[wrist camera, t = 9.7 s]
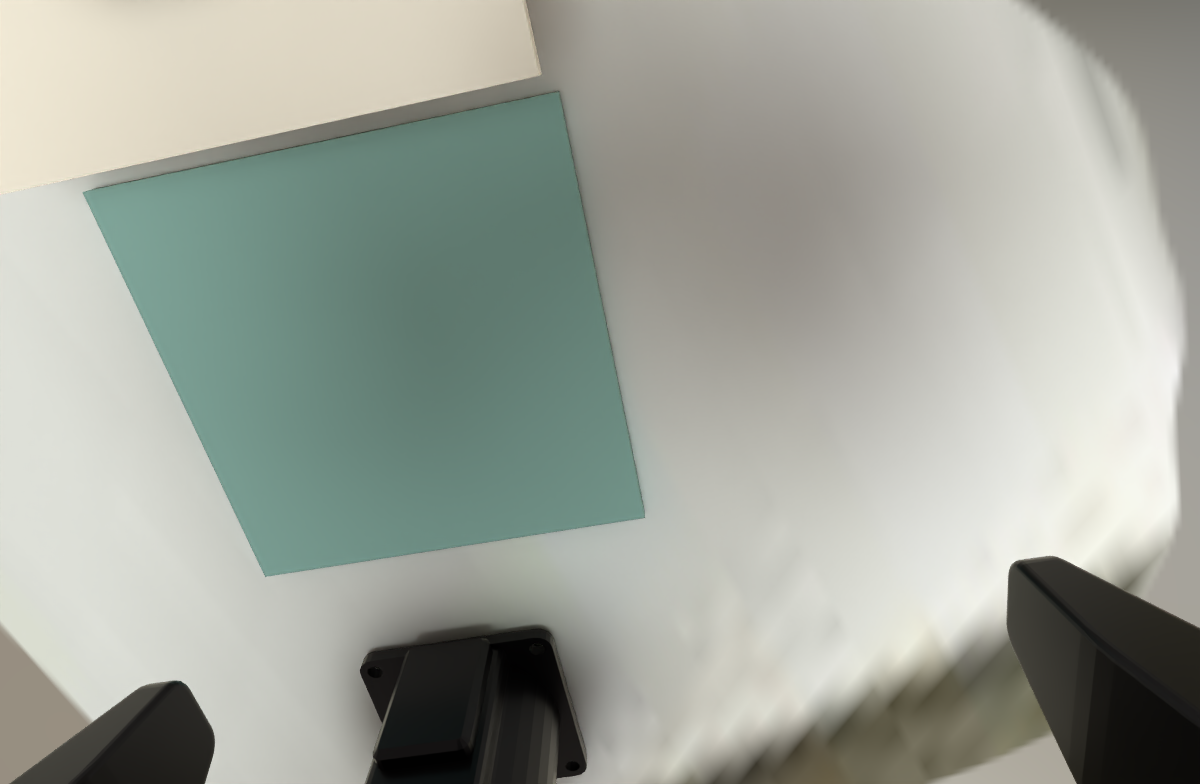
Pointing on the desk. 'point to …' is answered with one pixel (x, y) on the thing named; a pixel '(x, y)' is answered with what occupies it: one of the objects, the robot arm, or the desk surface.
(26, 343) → the desk surface
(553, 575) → the desk surface
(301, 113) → the lid
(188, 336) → the mat
